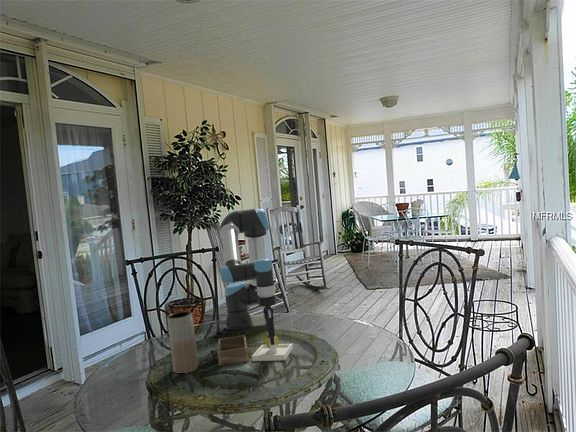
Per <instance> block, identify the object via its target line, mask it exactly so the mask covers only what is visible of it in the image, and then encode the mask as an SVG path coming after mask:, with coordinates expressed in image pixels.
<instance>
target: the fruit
mask: <svg viewBox="0 0 576 432" xmlns="http://www.w3.org/2000/svg"><path fill="white" fill-rule="evenodd" d="M268 335H269V334H268ZM268 335H267V334H266V336H265V340H264V343H265V344H264V345H266V346H267V347H268V348H269V349H270V347H269V338H267V336H268ZM275 341H276V347H277V345H278V344H279V338H278V336H277V334H275Z"/></svg>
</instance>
